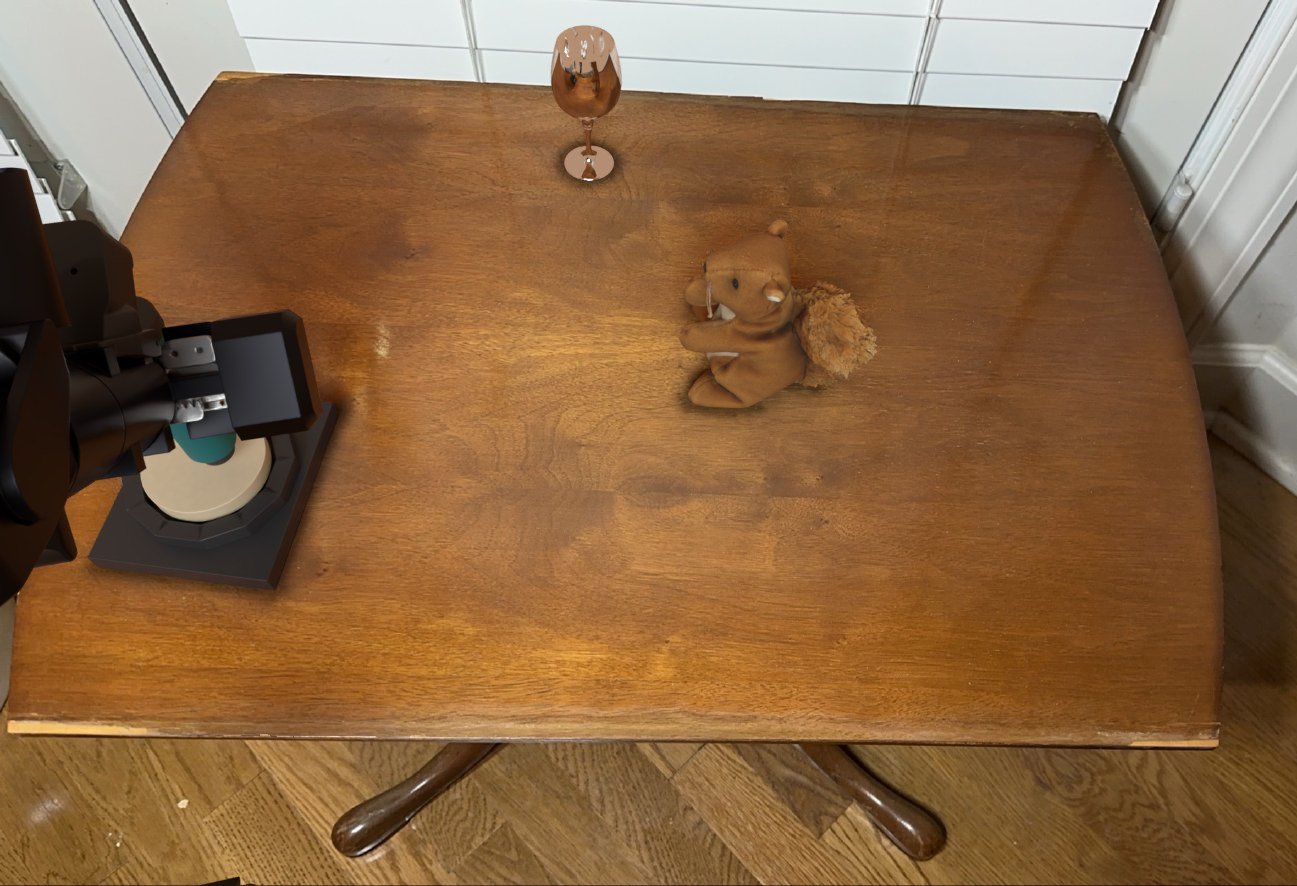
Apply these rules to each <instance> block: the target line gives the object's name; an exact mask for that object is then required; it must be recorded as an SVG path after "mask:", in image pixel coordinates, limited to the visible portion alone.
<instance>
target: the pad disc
mask: <svg viewBox="0 0 1297 886" xmlns="http://www.w3.org/2000/svg"><path fill="white" fill-rule="evenodd" d="M236 436H237V438H236V443H235V452H234V454H233V456H232V457H231V459H230V460H228V461H227V462H226V463H224V464H221V465H217V466H211V465H207V464H205V463H199V462H196V461H193V460H192V459H190V458H189V457H188V456H187V454H186V453H185V452H184V451H183V449H182V448H181V447H180V446H179V444H178V443H177V442H176V441H175V439H174V442H175V446H176V448H175V449H174V450H172V451H171V452H169V453H163V454H157V455H151V456H144V461H145V464H146V469H145V470H144V471H142V472H141V473H140V474H141V482H142V486H143V488H144V490H145V492H146V493H147V495H148V496H149V498H150V499H151V500H152V501H153V502H154V503H155V504H156V505H157V506H158V507H159V508H160V509H161V510H162V511H163V512H165V513H166V514H168V515H170V516H172V517H174V518H177V519H180V520H184V521H192V522H202V521H210V520H215V519H218V518H222V517H224V516H227V515H229V514H231V513H233V512H235V511H237V510H239V509H240V508H242V507H243V506H245V505H246V504H247V503H249V502H250V501H251V500H252V499H253V498H254V497H255V496H256V495H257V494H258V492H259V491H260V490H261V489H262V487H263V486H264V484H265V482H266V480H267V478H268V476H269V473H270V469H271V464H272V454H271V449H270V446H269V443H268V441H267V439H266V438H265V437H264V438H258V439H252V440H245V441H241V440H240V438H239V437H238V435H237V434H236Z"/></svg>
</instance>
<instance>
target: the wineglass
mask: <svg viewBox="0 0 1297 886" xmlns="http://www.w3.org/2000/svg"><path fill="white" fill-rule="evenodd" d="M621 67H622V66H621V61H620V56H619V53H618V49H617V45H616V41H615V39H614V37H613V35H612V34H611V33H610V32H608V31H607V30H605V29H603V28H602V27H599V26H595V25H588V24H586V25H583V24H582V25H575V26H571V27H568V28H567V29H565V30H563V31H562V32H560V33H559V35H558V36H557V37H556V40H555V42H554V47H553V52H552V57H551V65H550V87H551V93H552V95H553V98H554V100H555V102H556V104H557V105H558V107H559V108H560V110H561V111H563V112H564V113H565V114H567V115H568V116H570V117H572V118H574V119H578V120H581V124H582V125H581V126H582V127H583V130H584V135H585V145H580V146H577V147H575V148H573V149H571V150H570V151H569V152H567V154H566V156H565V157H564V161H563V163H564V165H563V166H564V169H565V171H566V172H567V173H568V175H570V176H571V177H573V178H575V179H577V180H580V181H586V182H590V181H591V182H593V181H598V180H601V179H604V178H606V177H607V176H608V175H610V174H611V172H612V171H613V169H614V167H615V159H614V157H613V155H612V154H611V153H610V152H609V151H608V150H607V149H605V148H603V147H601V146H598V145H592V132H593V127H594V124H595V120H598V119H600V118H603V117H604V116H607V115H608V114H609V113H610V112H612V110H613V109H614V108H615V107H616V106H617V104H618V102H619V100H620V97H621V92H622V85H623V77H622V76H623V73H622V68H621Z"/></svg>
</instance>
